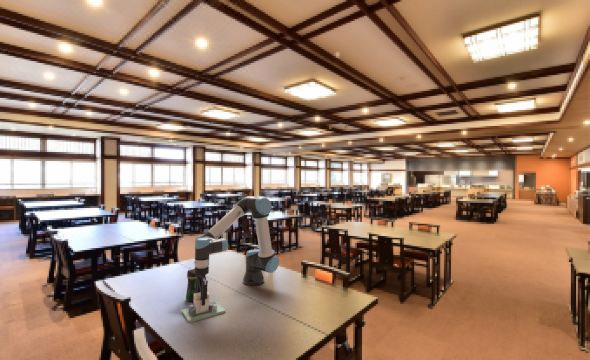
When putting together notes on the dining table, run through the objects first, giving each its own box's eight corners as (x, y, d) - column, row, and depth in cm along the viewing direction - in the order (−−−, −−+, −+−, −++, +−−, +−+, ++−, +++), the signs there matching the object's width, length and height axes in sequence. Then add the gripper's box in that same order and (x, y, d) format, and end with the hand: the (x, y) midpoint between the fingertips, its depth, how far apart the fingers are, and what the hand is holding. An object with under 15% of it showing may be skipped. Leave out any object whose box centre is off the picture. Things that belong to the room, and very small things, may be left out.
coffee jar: (190, 303, 163) (191, 272, 163) (184, 299, 168) (184, 269, 168) (205, 298, 170) (205, 268, 170) (198, 294, 175) (199, 265, 175)
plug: (205, 308, 154) (206, 290, 154) (208, 311, 151) (209, 293, 150) (193, 311, 150) (193, 293, 150) (195, 315, 146) (196, 296, 146)
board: (216, 303, 164) (216, 296, 164) (225, 312, 153) (225, 305, 153) (181, 311, 152) (181, 304, 152) (188, 322, 141) (188, 314, 141)
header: (208, 306, 156) (208, 298, 156) (212, 311, 151) (212, 303, 151) (188, 311, 150) (188, 303, 150) (192, 317, 144) (192, 308, 144)
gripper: (189, 263, 156) (188, 303, 156) (200, 272, 141) (199, 317, 141) (203, 261, 160) (202, 300, 160) (214, 270, 145) (213, 313, 145)
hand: (200, 308), depth 150 cm, fingers open, 6 cm apart
